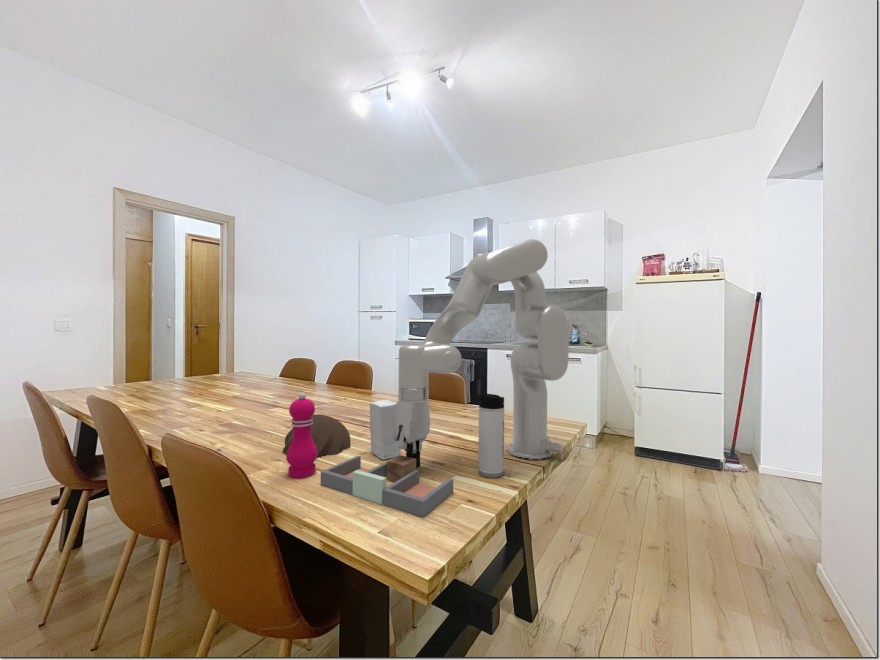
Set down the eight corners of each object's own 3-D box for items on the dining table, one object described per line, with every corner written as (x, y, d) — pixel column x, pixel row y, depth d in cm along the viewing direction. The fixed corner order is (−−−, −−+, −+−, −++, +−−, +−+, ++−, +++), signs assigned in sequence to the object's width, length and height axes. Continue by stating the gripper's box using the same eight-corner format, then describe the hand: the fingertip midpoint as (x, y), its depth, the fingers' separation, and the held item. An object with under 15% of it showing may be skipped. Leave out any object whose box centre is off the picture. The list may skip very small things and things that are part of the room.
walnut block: (416, 477, 88) (416, 458, 88) (403, 484, 84) (403, 465, 84) (399, 472, 91) (399, 454, 91) (386, 480, 87) (386, 461, 87)
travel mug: (472, 470, 93) (473, 391, 92) (495, 466, 95) (495, 390, 95) (485, 480, 87) (485, 396, 87) (508, 476, 89) (509, 394, 89)
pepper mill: (291, 468, 94) (291, 390, 94) (320, 467, 94) (320, 389, 94) (281, 479, 87) (282, 395, 86) (313, 478, 87) (313, 395, 87)
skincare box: (400, 456, 102) (401, 403, 102) (380, 461, 99) (381, 406, 99) (387, 448, 109) (388, 398, 109) (368, 452, 106) (369, 400, 106)
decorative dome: (266, 453, 105) (266, 418, 105) (316, 434, 123) (316, 405, 123) (319, 464, 97) (319, 426, 97) (363, 442, 115) (364, 410, 115)
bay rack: (453, 492, 80) (453, 469, 80) (422, 517, 70) (423, 491, 70) (357, 467, 95) (357, 447, 94) (320, 484, 84) (320, 463, 84)
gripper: (417, 388, 100) (417, 455, 100) (382, 397, 87) (382, 474, 87) (441, 391, 96) (441, 460, 96) (408, 400, 83) (407, 481, 83)
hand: (413, 466), depth 92 cm, fingers closed
